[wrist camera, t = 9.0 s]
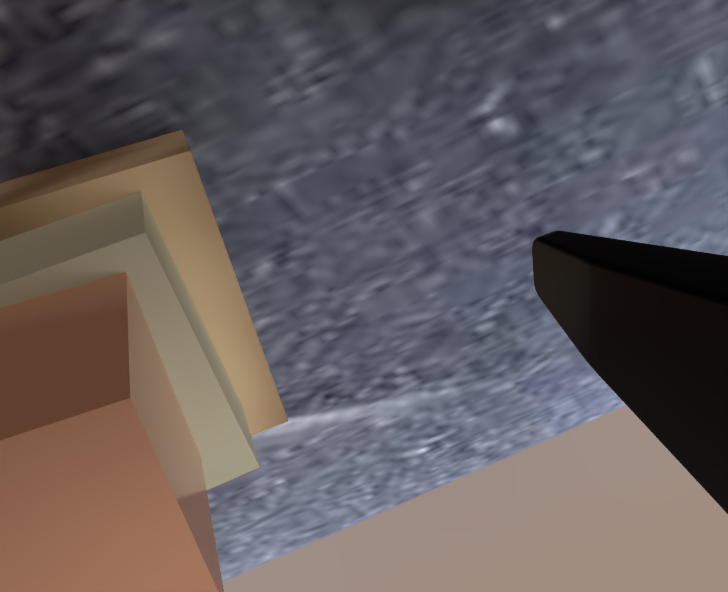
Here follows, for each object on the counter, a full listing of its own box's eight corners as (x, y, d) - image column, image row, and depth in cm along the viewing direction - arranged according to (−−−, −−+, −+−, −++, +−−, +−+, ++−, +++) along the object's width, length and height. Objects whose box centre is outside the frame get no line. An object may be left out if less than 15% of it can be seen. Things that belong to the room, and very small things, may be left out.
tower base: (180, 125, 19) (190, 150, 16) (270, 373, 24) (288, 420, 22) (-173, 228, 17) (-223, 274, 15) (8, 473, 22) (-6, 537, 20)
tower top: (141, 191, 17) (145, 232, 14) (242, 406, 21) (259, 467, 18) (-175, 302, 15) (-233, 369, 13) (2, 507, 19) (-15, 587, 17)
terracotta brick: (126, 271, 14) (130, 397, 10) (200, 456, 17) (227, 610, 13) (-85, 332, 13) (-176, 498, 9) (33, 516, 16) (5, 703, 12)
